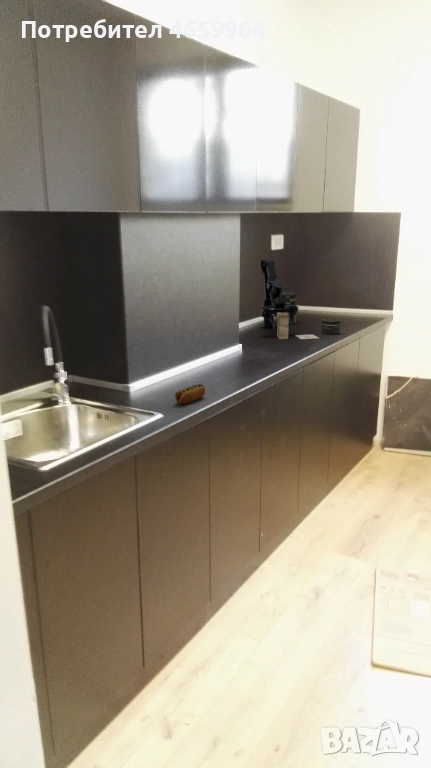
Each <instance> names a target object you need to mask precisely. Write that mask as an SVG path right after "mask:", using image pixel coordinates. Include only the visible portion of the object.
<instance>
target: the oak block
mask: <svg viewBox="0 0 431 768" xmlns="http://www.w3.org/2000/svg"><path fill="white" fill-rule="evenodd" d="M289 325H290V324H289V314H288V313H277V326H276V327H277V330H276V331H277V332H276V338H277V339H278V340H287V339H288V340H289Z"/></svg>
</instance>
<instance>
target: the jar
mask: <svg viewBox="0 0 431 768" xmlns="http://www.w3.org/2000/svg"><path fill="white" fill-rule="evenodd" d="M341 323H342V322H341V319H338V318H333V317H332V318H329V317H328V318H327V317H326V318H323V319H321V323H320V324H321V328H320V329H321V334H323V335H329V336H333V335H339V334H340V332H341Z"/></svg>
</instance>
